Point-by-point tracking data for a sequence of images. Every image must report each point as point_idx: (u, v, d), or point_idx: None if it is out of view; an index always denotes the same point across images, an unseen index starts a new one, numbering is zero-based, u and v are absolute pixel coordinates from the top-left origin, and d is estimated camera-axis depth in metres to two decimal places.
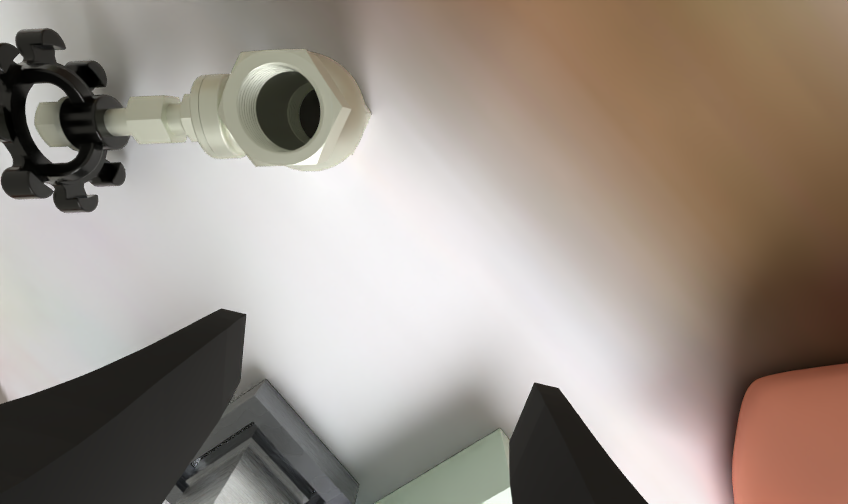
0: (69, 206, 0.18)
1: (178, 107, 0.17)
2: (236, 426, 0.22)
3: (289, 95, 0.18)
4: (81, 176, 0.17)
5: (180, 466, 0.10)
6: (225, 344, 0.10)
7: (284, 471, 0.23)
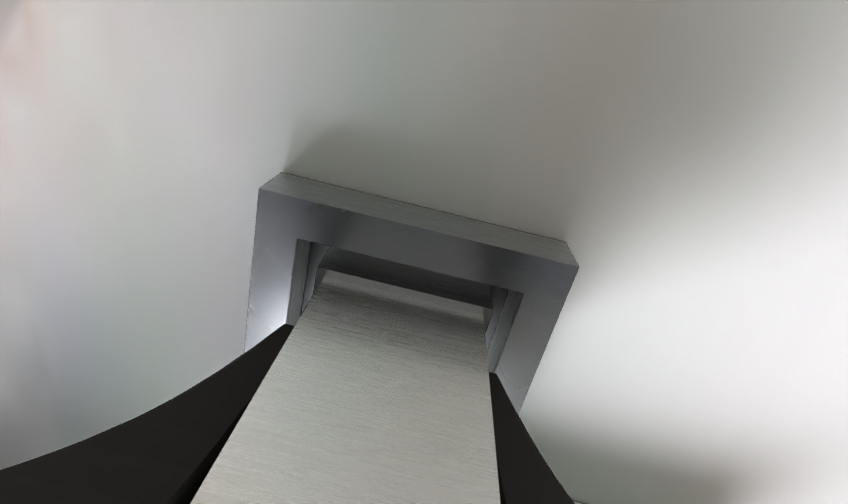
0: None
1: None
2: (493, 276, 0.11)
3: None
4: None
5: None
6: None
7: None
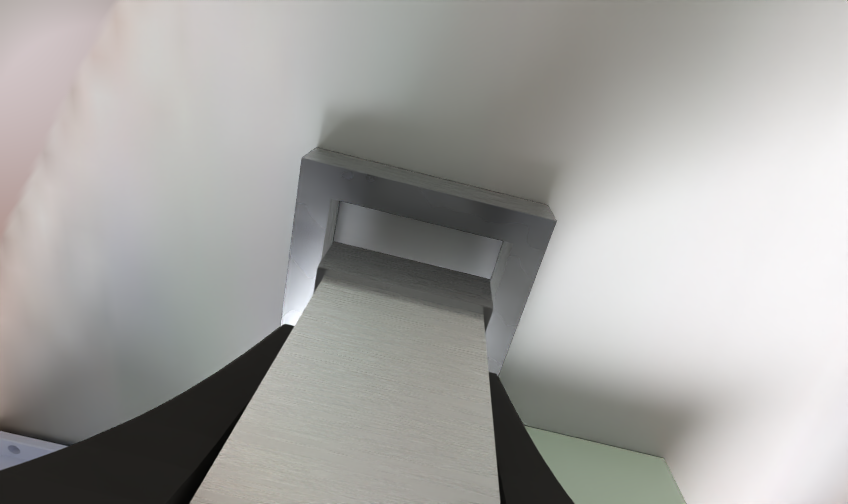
0: None
1: None
2: (488, 229, 0.14)
3: None
4: None
5: None
6: None
7: None
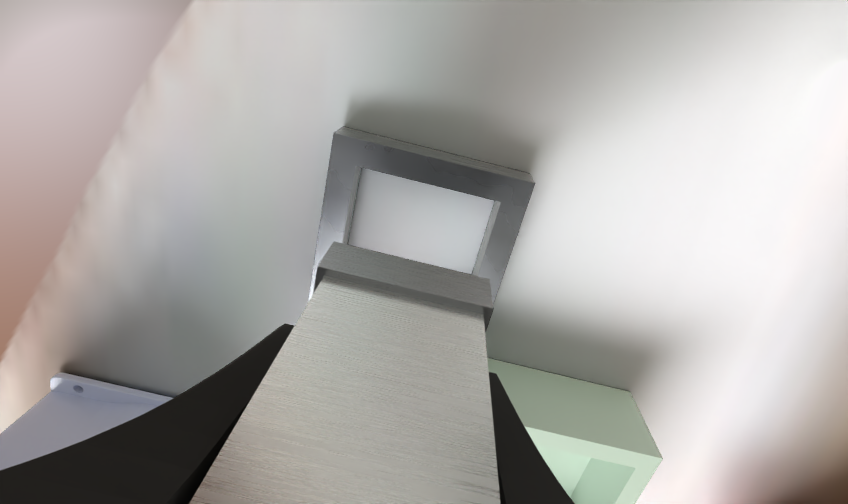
0: None
1: None
2: (480, 190, 0.17)
3: None
4: None
5: None
6: None
7: None
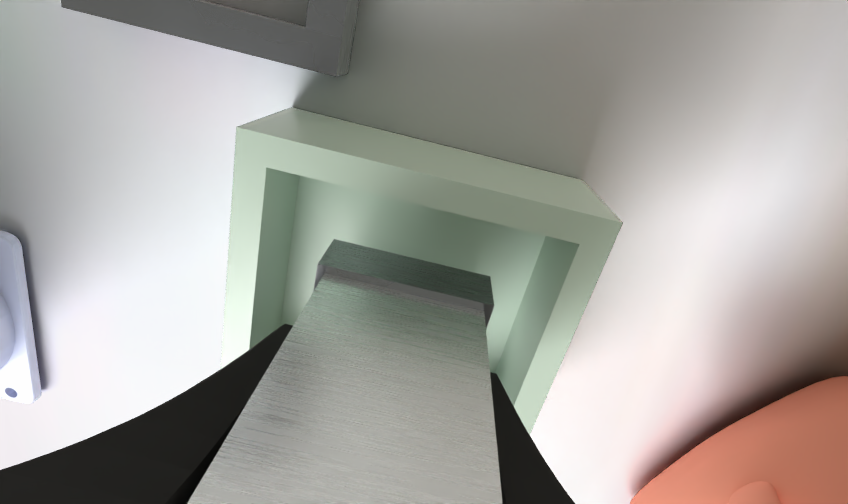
0: None
1: None
2: None
3: None
4: None
5: None
6: None
7: None
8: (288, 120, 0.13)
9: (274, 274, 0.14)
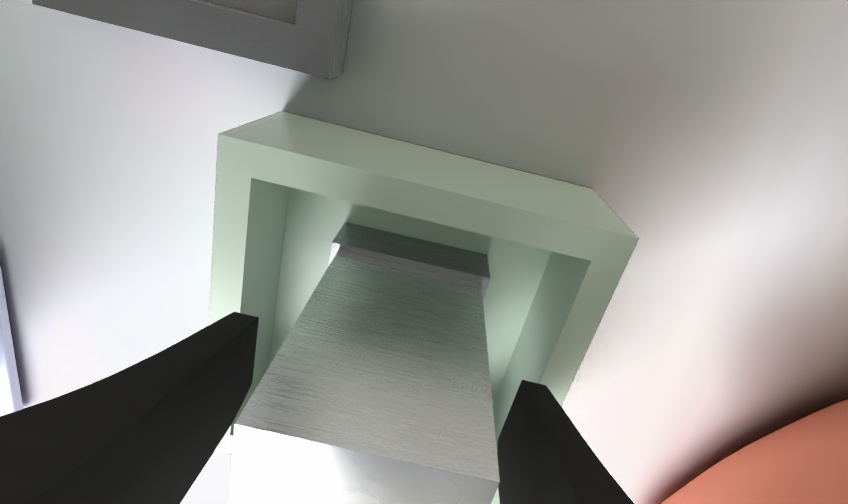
0: None
1: None
2: None
3: None
4: None
5: (195, 470, 0.10)
6: (239, 348, 0.10)
7: None
8: (277, 125, 0.12)
9: (263, 289, 0.14)
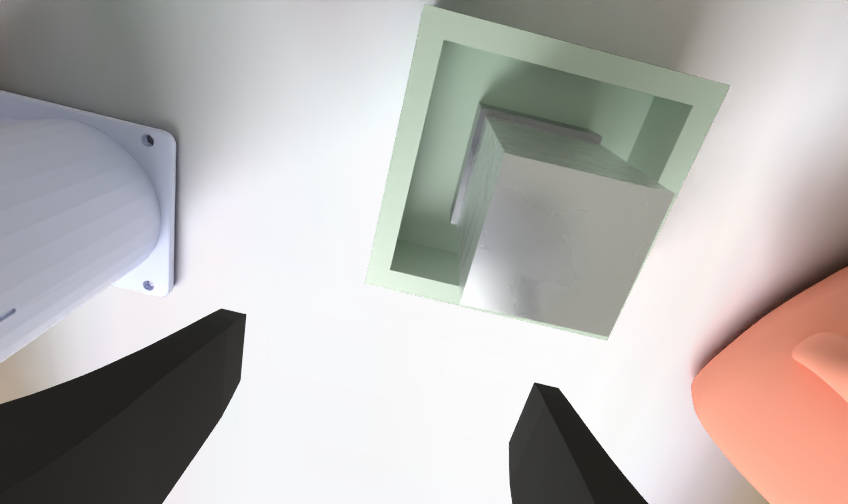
0: None
1: None
2: None
3: None
4: None
5: (180, 466, 0.10)
6: (225, 344, 0.10)
7: None
8: None
9: None
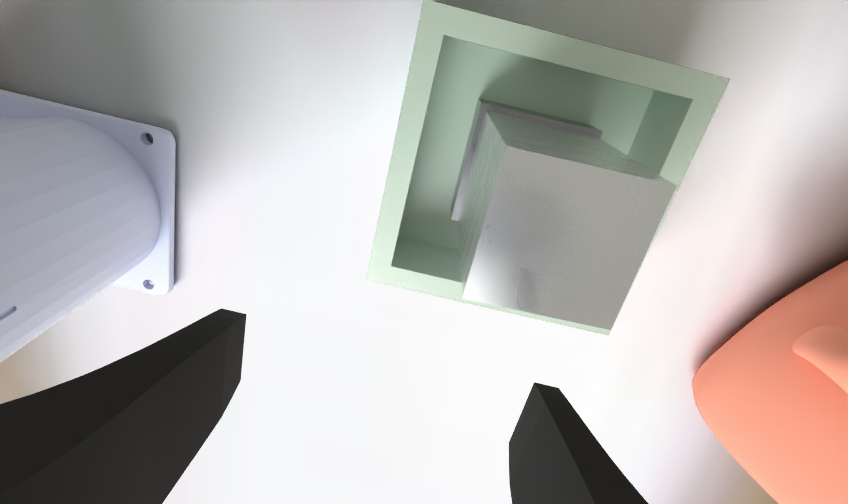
0: None
1: None
2: None
3: None
4: None
5: (180, 466, 0.10)
6: (225, 344, 0.10)
7: None
8: None
9: (418, 148, 0.17)
